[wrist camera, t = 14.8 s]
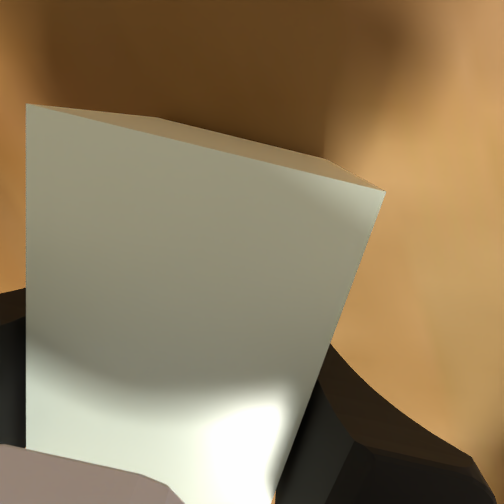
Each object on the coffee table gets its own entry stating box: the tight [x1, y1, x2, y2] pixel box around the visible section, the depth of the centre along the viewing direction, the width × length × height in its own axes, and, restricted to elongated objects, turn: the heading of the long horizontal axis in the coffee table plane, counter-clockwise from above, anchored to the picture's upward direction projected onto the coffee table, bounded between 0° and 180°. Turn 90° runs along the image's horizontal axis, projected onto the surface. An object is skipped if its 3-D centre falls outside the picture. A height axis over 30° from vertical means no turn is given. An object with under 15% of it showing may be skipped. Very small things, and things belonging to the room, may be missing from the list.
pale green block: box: [26, 103, 386, 504], centre depth 11 cm, size 6×12×7 cm, turn 167°
